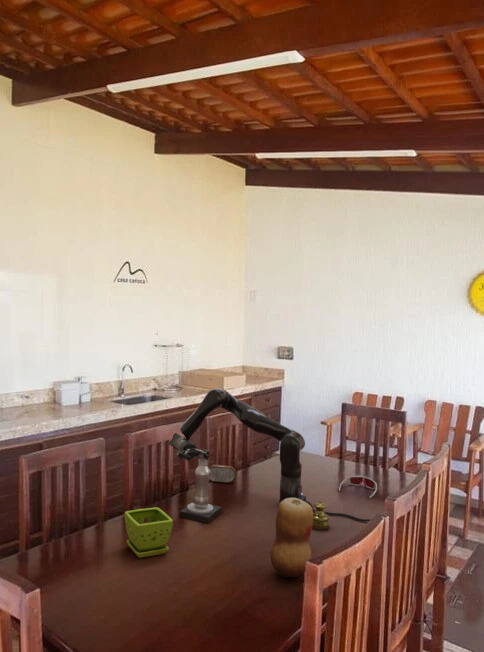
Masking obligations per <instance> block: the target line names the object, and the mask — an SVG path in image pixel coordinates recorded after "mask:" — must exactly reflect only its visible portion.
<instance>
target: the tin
mask: <svg viewBox="0 0 484 652" xmlns="http://www.w3.org/2000/svg"><path fill="white" fill-rule="evenodd" d="M208 468H209V470H210V479H209V481H210V482H214V483H222V484H223V483H224V484H231V483H233V482H235V480H236V478H237V470H236V469H235V468H234V467H233V466H231V465H225V464H211V465H209V466H208Z"/></svg>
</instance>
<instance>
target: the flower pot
mask: <svg viewBox="0 0 484 652" xmlns="http://www.w3.org/2000/svg"><path fill="white" fill-rule="evenodd" d="M145 520H147V521H146V522H145ZM124 524H125V530H126V534H127V536H128V539H126V541H125V542H126V544H127V545H128V547H129V548H130V549H131V551H133V553H134V554H135V555H136V556H137V557H138V558H139V559H142V558H146V557H152V556H159V555H164V554H165V553H167V552H168V551H169V550H170V549H169V547H168V546H167V543H168V541H169V539H170V538H171V534H172V531H173V525H174V520H173V519H172V517H171V516H169V515H168V514H167V513H166V512H165V511H163V510H162V509H161V508H160V507H157V506H156V507H147V508H139V509H131V510H126V511H124Z"/></svg>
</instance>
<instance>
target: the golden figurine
mask: <svg viewBox="0 0 484 652" xmlns="http://www.w3.org/2000/svg"><path fill="white" fill-rule="evenodd" d="M313 508H315V512H313V526H312V529H314V530H317V531H323V530H324V531H325V530H327V529H328V528H329V519H330V518H329V515H328V514H325V513H324V512H325V511H324V510H325V509H326V508H327V504H325V503H324V502H322V501H318V502H315V503H313Z"/></svg>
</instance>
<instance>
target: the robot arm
mask: <svg viewBox="0 0 484 652" xmlns="http://www.w3.org/2000/svg"><path fill="white" fill-rule="evenodd" d="M218 408H220V409H224V410H225V411H227V412H229V413H231V414H232V415H234V416H235V418H236V419H237V420H238V421H239V422H240V423H241V424H243V425H244V426H245V427H246V428H248V429H250V430H251V431H253V432H256V433H258V434H261V435H264V436H267V437H271V438H273V439H275V440H277V441H279V462H280V463H279V464H280V477H279V479H280V480H279V500H278V502H279V503H278V505H279V504H280V503H281V501H283V500H284V499H286V498H296V492H298V499H300V500H302V501H305V502H306V503H308V504H309V505H310V506H311V507H312V510H313V513H314V512H315V511H316V509H314V505H313V504H312V503H311V502H309V501H308V500H307V496H306V495H303V485H302V471H303V470H302V469H303V464H302V462H301V461H300V457H301V456H300V455H301V454H300V452H301V451H302V450H303V449H304V448H305V446H306V440H305V437H304V436H303V435H302V434H301V433H300V432H298V431H296V430H294V429H292V428H290V427H287V426H285V425H283V424H281V423H279V422H277V420H274V419H273V418H272V417H270V416H268V415H267V414H264V413H263V412H261V411H260V410H258V409H257V408H255V407H252V405H249V404H248V403H246V402H243V401H241V400H240V399H238V398H236V397H235V395H233V394H231V393H230V392H228V391H227V390H225V389H224V388H213V389H210V390H209V391H208V392H207V393H206V394H205V396H204V398H203V399H202V400H201V403H200V404H198V407H196V409H195V411H194V412H193V413H192V414H191V415H190V416H189V417H188V418H187V419H186V420H185V421H184V423H182V424H181V426H180V427H179V431H180V432H181V434H180V433H178V432H177V433H175V434H174V435H173V438H172V440H171V441H170V442H169V444H168V445H169V446H171V447H172V446H173V447H172V448H174V449H175V450H176V456H177V458H178V459H180V460H186V461H188V462H190V461H191V460H193V459H196V458H198V459H206V460H207V461H209V458H210V451H209V450H208V449H206V448H202V449H198V447H197V445H196V444H194V443H193V442H192V441H190V439H191V438H192V436H193V435H194V434H195V433H196V432H197V431H198V430H199V428H200V427H201V426H202V425H203V423H204V421H205V419H206V418H207V416H208V415H209V414H210V413H211V412H213V411H214V410H215V409H218ZM179 434H180V435H182V436H185V437H186V439H185V438H184V437H182V436H180V435H179ZM323 512H324V513H325V514H326V515H328V516H329V515H330V516H343V517H347V518H350V519H354V520H356V521H359V522H369V521H370V520H372V519H370V518H359V517H356V516H353V515H350V514H347V513H340V512H331V511H330V512H328V511H323Z"/></svg>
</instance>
